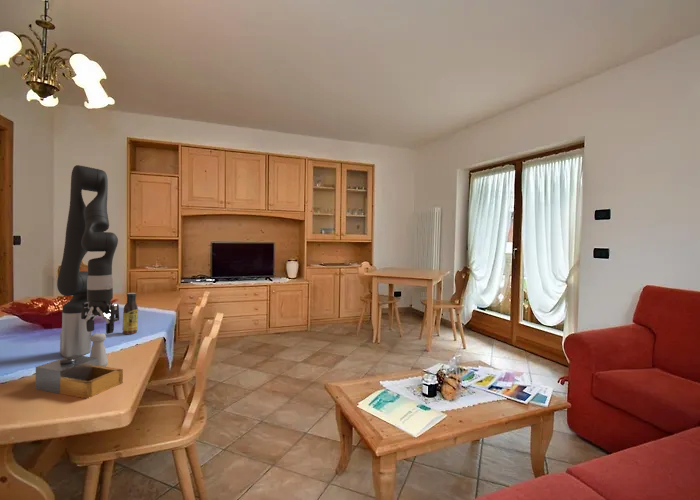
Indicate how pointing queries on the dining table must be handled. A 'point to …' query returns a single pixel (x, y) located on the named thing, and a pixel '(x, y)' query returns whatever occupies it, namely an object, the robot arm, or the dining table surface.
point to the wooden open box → (77, 376)
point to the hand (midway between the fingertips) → (100, 332)
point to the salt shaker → (99, 349)
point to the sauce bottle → (130, 315)
